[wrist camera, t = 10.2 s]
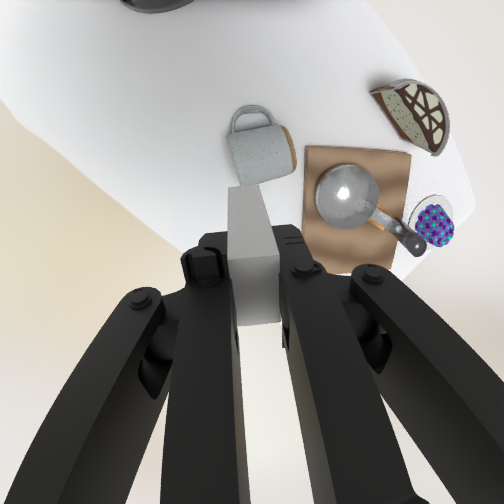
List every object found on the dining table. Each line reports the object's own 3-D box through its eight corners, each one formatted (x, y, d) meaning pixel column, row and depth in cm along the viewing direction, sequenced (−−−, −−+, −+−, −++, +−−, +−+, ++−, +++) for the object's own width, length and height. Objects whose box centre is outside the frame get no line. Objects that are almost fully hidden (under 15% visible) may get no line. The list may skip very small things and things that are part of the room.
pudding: (418, 259, 53) (430, 272, 48) (397, 219, 48) (411, 232, 43) (456, 225, 50) (470, 236, 45) (440, 182, 45) (457, 191, 40)
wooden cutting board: (305, 145, 40) (308, 148, 39) (405, 152, 41) (411, 155, 39) (299, 270, 51) (301, 277, 50) (386, 263, 52) (390, 269, 50)
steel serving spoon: (302, 207, 43) (316, 230, 36) (335, 151, 39) (357, 163, 32) (385, 252, 48) (406, 276, 41) (415, 206, 44) (441, 226, 37)
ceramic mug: (291, 166, 42) (303, 179, 35) (239, 180, 42) (240, 196, 36) (274, 99, 37) (283, 98, 30) (218, 114, 37) (216, 115, 31)
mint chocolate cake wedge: (425, 125, 39) (463, 136, 30) (403, 145, 41) (439, 159, 32) (388, 65, 34) (424, 62, 25) (363, 85, 36) (396, 84, 27)
